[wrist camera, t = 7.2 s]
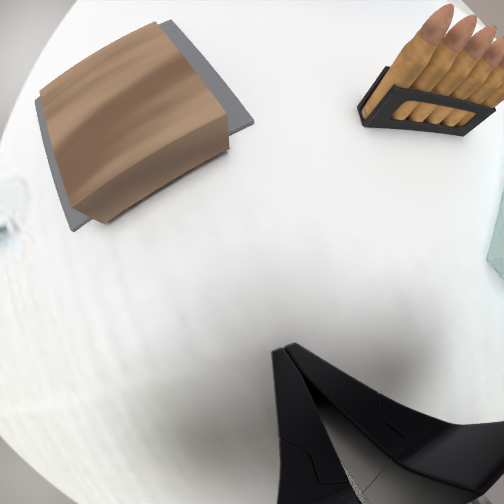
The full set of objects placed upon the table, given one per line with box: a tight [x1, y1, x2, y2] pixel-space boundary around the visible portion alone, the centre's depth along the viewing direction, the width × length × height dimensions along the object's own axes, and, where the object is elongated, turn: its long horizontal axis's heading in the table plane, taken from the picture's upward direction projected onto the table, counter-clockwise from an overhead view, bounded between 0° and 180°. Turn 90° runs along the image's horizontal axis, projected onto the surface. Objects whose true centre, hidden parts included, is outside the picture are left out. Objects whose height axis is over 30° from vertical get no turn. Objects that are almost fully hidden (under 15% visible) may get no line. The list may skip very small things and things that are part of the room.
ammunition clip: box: [357, 4, 504, 136], centre depth 13 cm, size 11×2×12 cm, turn 97°
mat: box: [35, 20, 254, 232], centre depth 18 cm, size 14×14×1 cm
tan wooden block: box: [40, 22, 229, 224], centre depth 16 cm, size 4×9×10 cm
